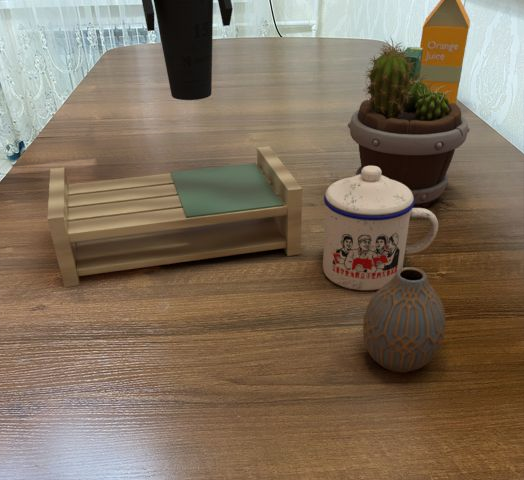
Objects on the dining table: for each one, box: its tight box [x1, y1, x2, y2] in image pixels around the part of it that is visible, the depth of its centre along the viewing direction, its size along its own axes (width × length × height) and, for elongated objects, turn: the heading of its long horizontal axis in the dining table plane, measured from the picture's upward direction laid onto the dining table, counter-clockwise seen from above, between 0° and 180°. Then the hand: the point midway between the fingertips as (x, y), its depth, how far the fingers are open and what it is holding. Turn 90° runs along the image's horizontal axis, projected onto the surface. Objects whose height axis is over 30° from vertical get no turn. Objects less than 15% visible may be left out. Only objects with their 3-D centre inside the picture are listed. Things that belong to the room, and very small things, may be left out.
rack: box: [46, 145, 303, 288], centre depth 71 cm, size 14×27×8 cm, turn 104°
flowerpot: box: [347, 36, 470, 209], centre depth 77 cm, size 14×15×20 cm
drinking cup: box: [153, 0, 214, 101], centre depth 67 cm, size 8×8×20 cm
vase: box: [362, 266, 447, 373], centre depth 52 cm, size 7×7×9 cm
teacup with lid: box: [322, 166, 439, 291], centre depth 63 cm, size 12×9×12 cm
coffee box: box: [402, 46, 423, 81], centre depth 99 cm, size 8×3×13 cm, turn 160°
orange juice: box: [419, 0, 471, 105], centre depth 108 cm, size 8×9×20 cm
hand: (189, 19), depth 65 cm, fingers closed on drinking cup, 8 cm apart
